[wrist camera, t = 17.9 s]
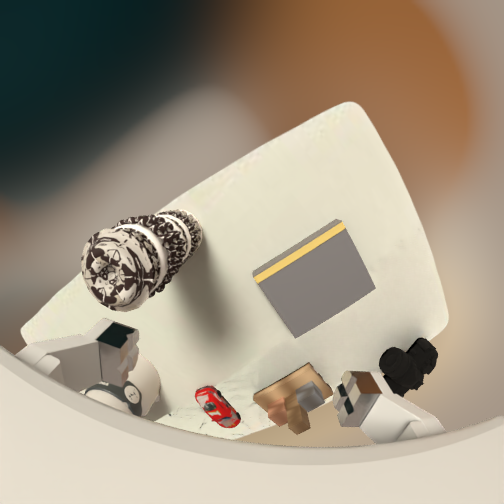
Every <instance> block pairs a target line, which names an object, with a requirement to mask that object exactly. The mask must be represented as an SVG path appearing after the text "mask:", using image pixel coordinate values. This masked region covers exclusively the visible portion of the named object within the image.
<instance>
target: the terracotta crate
mask: <svg viewBox="0 0 504 504" xmlns="http://www.w3.org/2000/svg"><path fill="white" fill-rule="evenodd" d="M268 418H269V419H271V420H272V421H273V422H274V423H276V424H277V425H278V426H279V427H280V426H282V425H284V424H286V423H288V420H287V412H286V405H285V398H284V397H282V398H280V399H278V400H276V401H274V402H272V403H270V404H268Z"/></svg>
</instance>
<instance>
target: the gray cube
mask: <svg viewBox="0 0 504 504" xmlns="http://www.w3.org/2000/svg"><path fill="white" fill-rule="evenodd" d="M295 391H296V396H297V401H298V403H299V404H300V405H301V406H302V407H303V408H304V409H305V410H306V411H307V412H309V411H311V410H313V409H315V408H317V407H319V406H320V405H322V404H324V403H325V401H324V398H323V395H322V392H321V390H320V389H319V388H318V387H317V386H316V385H315V383H314V382H313V381H310V382H308V383H307V384H305V385H303V386H301V387H300V388H298V389H296V390H295Z"/></svg>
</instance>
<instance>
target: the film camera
mask: <svg viewBox="0 0 504 504" xmlns="http://www.w3.org/2000/svg"><path fill="white" fill-rule="evenodd" d="M437 357H438V353H437V351H436V348H435V347H434V346H433V345H432V344H431V343H430V342H429V341H428V340H427V339H424V338H418V339H417V340H416V341H415V342H414V343H413V344H412V345H411V347H410V348H409V349H408V350H407V351H406V352H404V351H402V350H401V349H399V348H396V347H391V348H389V349H387V350H386V351H385V352H384V353H383V354H382V356H381V358H380V361H379V367H380V369H381V370H382V372H383V373H384V374H385V375H384V376H383V378H384V380H385V381H386V383H387V384H388V386H389V387H390V389H391V391H392V392H393V394H397V395H399V396H401V397H402V398H403V397H404V394H405V393H406V392H407V391H408V390H409V389H411V390H413V389H415V390H418V388H419V387H420V386H421V385H423V379H424V374H430V373H431V371H432V370H433V369H434V367H435V366H436V360H437Z"/></svg>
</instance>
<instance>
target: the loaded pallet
mask: <svg viewBox="0 0 504 504" xmlns="http://www.w3.org/2000/svg"><path fill="white" fill-rule="evenodd" d="M310 381H313V382H314V383H315V385H316V386H317V387H318V388H319V389H320V390H321V392H322V395H323V398H324V400H325V399H326V398H328V397H330V396H332V395H333V391H332V389H331V387H330V386H329V385H328V383H327V384H326V383H325V381H324V380H323V378H322V377H321V375H320V374H319V373H317V372H316V371H315V370H314V369H313V366H312V365H311V364H310V363H309V362H308V363H307V364H305V365H304V366H302V367H300V368H299V369H297V370H295V371H294V372H292V373H290V374H289V375H287V376H285V377H284V378H282V379H280V380H278V381H277V382H275V383H273V384H271V385H269V386H268V387H266V388H264V389H262V390H260V391H258V392H256V393H255V394H254V396H253V400H254V401H255V402H256V403H257V404H258V405H259V406H260V407H262V408H263V409H264V410H265V411H266V412H267V413H268V404H270V403H272V402H274V401H276V400H278V399H280V398H282V397H284V398H285V405H286V412H287V420H288V427H289V429H290V430H292V431H293V432H294V433H295V434H300V433H302V432H304V431H306V430H308V429H310V423H309V419H308V414H307V411H306V410H305V409H304V408H303V407H302V406H301V405H300V404H299V403H298V401H297V396H296V391H295V390H296V389H298V388H300V387H301V386H303V385H305V384H307V383H308V382H310Z"/></svg>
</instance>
